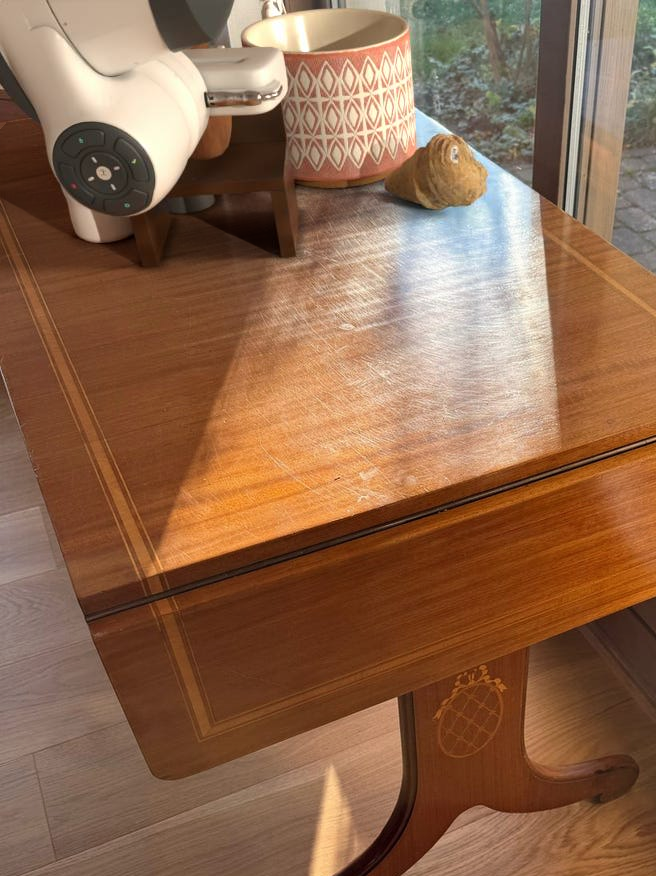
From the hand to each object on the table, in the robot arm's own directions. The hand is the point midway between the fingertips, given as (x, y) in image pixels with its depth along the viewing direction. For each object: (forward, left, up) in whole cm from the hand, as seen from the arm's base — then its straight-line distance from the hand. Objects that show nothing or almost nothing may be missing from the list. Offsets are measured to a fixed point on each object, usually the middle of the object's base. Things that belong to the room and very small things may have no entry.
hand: (184, 56), depth 91 cm
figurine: (+3, +41, -19) cm, 45 cm away
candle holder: (-6, +16, -19) cm, 25 cm away
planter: (+12, +25, -19) cm, 34 cm away
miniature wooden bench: (-1, +5, -19) cm, 19 cm away
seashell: (+23, +10, -19) cm, 32 cm away
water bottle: (-14, +9, -19) cm, 25 cm away
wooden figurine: (0, -1, -8) cm, 9 cm away
